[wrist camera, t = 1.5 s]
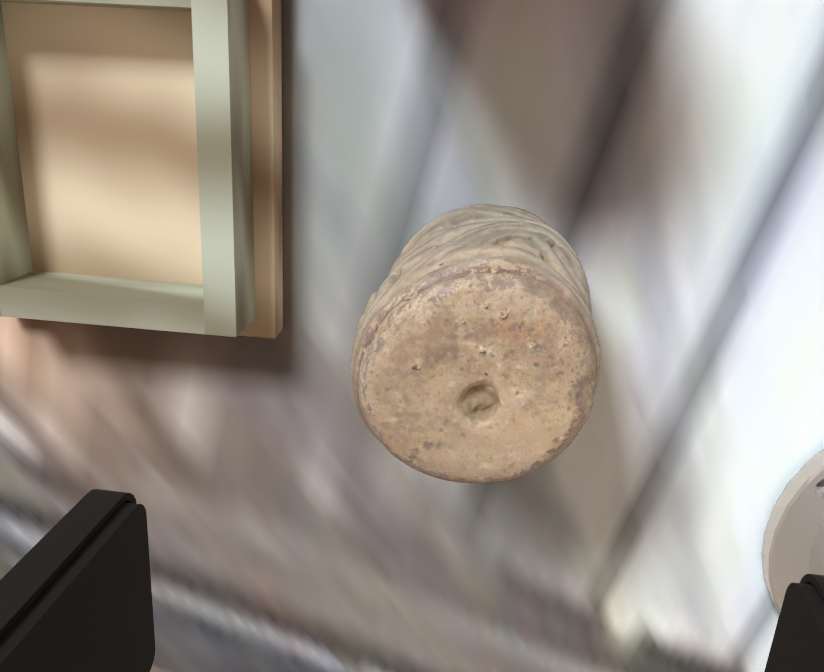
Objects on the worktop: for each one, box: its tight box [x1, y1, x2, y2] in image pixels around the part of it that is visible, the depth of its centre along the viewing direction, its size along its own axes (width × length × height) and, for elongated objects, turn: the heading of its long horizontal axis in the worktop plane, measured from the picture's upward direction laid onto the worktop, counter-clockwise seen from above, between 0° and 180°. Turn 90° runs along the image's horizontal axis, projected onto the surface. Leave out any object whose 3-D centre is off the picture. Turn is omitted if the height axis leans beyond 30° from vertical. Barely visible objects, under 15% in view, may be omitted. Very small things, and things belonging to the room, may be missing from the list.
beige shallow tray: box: [0, 0, 283, 339], centre depth 28 cm, size 14×12×4 cm
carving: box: [350, 204, 600, 483], centre depth 24 cm, size 6×8×12 cm
